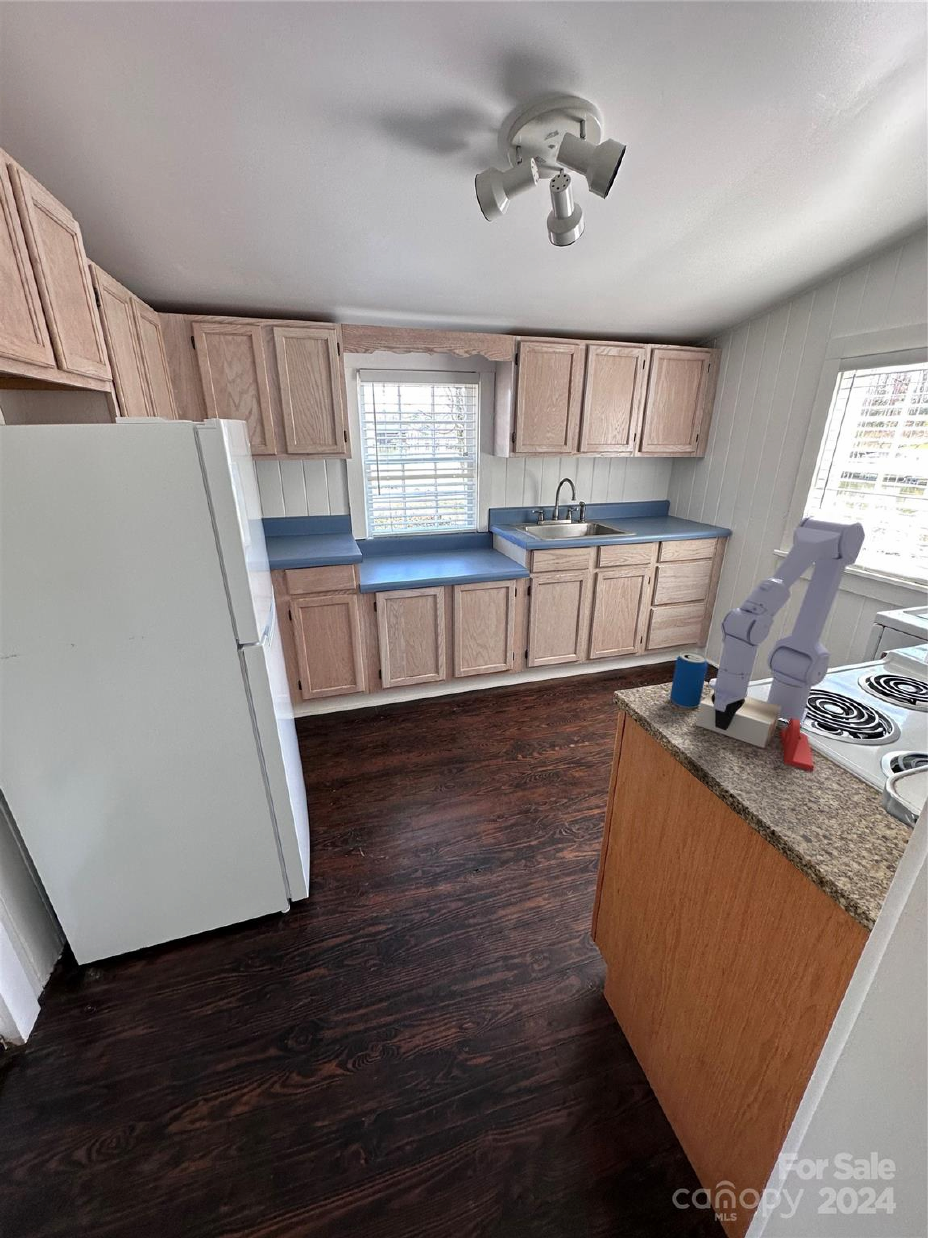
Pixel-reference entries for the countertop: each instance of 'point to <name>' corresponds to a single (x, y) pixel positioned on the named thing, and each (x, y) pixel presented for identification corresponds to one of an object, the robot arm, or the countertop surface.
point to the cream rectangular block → (757, 711)
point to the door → (736, 725)
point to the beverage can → (688, 679)
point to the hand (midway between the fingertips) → (721, 727)
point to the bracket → (796, 746)
